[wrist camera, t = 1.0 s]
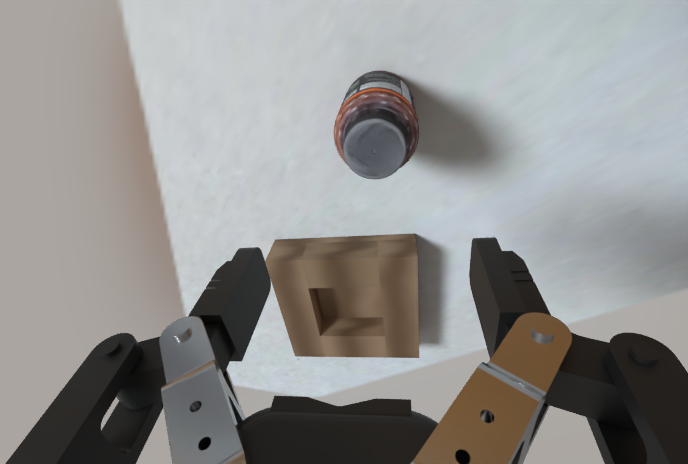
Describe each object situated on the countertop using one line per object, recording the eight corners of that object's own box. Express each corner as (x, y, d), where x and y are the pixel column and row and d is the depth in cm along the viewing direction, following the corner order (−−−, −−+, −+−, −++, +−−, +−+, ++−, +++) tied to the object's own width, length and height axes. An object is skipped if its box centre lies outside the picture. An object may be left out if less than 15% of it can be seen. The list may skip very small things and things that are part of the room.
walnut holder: (415, 233, 38) (417, 256, 35) (417, 332, 47) (419, 357, 44) (275, 239, 41) (265, 261, 38) (301, 332, 50) (295, 356, 46)
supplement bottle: (396, 146, 33) (399, 206, 24) (337, 125, 33) (315, 178, 23) (423, 82, 30) (439, 123, 21) (357, 58, 29) (342, 88, 20)
